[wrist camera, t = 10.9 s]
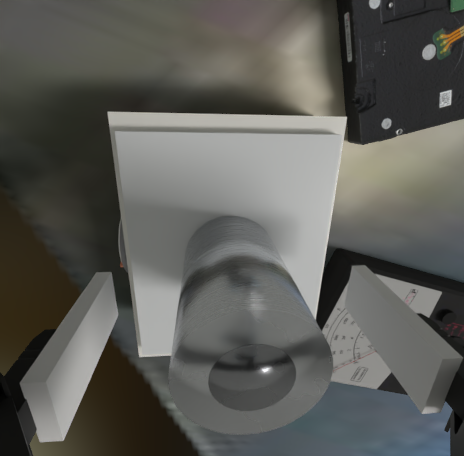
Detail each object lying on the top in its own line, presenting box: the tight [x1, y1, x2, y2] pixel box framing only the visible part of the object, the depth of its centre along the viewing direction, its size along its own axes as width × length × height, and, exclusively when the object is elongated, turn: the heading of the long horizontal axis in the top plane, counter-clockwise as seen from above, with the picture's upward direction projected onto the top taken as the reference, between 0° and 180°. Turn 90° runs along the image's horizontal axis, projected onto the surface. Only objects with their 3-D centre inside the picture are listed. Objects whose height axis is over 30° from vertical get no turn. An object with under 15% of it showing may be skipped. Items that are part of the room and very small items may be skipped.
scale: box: [108, 112, 347, 357], centre depth 22 cm, size 18×15×6 cm
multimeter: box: [316, 249, 464, 395], centre depth 29 cm, size 13×19×5 cm
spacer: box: [168, 216, 333, 435], centre depth 15 cm, size 6×6×10 cm
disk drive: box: [337, 0, 464, 145], centre depth 21 cm, size 10×3×15 cm
